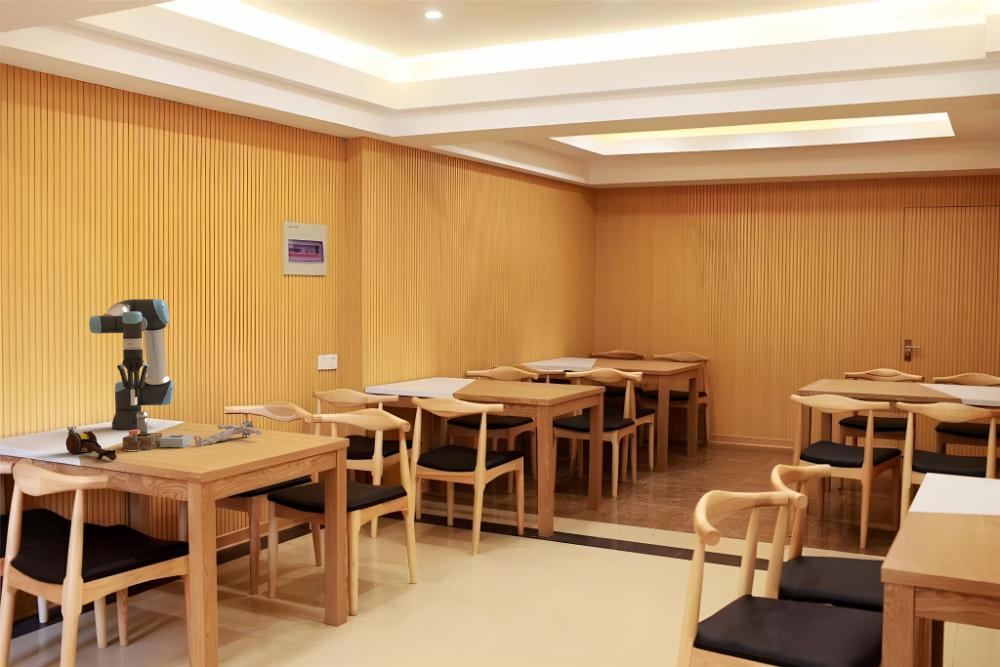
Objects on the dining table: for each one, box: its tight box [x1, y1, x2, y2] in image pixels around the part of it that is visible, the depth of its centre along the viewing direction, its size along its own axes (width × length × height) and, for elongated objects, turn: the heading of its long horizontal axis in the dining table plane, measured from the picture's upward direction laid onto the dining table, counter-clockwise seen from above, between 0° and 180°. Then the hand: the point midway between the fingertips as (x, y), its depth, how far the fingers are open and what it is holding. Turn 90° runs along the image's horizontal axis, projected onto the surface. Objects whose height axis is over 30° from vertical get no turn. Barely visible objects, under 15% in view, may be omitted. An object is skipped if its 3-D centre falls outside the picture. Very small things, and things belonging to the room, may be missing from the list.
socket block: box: [122, 432, 163, 451], centre depth 380 cm, size 16×12×5 cm
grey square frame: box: [159, 434, 192, 449], centre depth 385 cm, size 10×10×4 cm
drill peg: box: [136, 411, 149, 437], centre depth 382 cm, size 4×4×15 cm
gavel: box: [65, 426, 117, 461], centre depth 362 cm, size 10×34×10 cm
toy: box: [193, 420, 262, 447], centre depth 397 cm, size 28×8×30 cm
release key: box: [128, 429, 141, 442], centre depth 374 cm, size 4×4×6 cm
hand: (134, 404), depth 373 cm, fingers closed
